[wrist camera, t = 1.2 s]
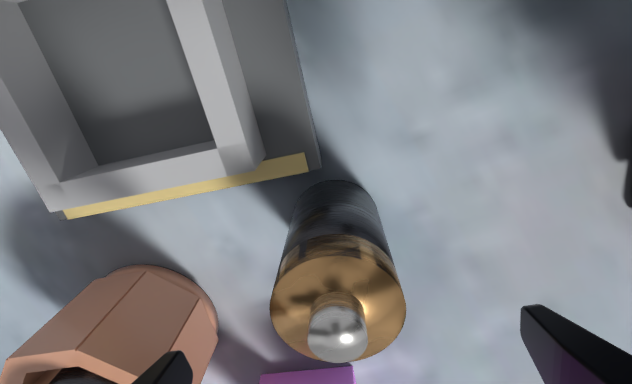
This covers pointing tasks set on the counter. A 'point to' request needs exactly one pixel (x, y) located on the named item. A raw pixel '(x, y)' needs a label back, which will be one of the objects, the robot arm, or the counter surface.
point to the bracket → (312, 376)
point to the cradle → (151, 99)
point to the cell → (337, 278)
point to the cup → (121, 329)
